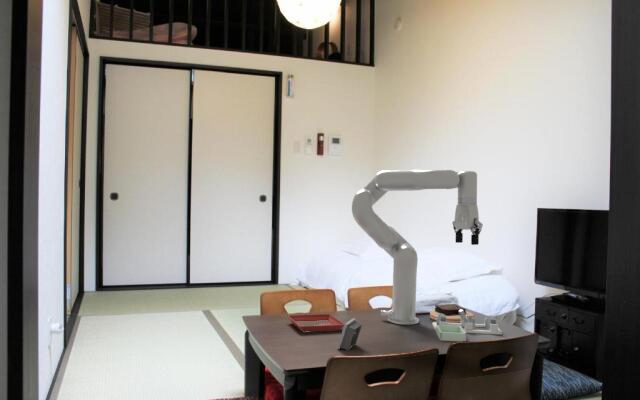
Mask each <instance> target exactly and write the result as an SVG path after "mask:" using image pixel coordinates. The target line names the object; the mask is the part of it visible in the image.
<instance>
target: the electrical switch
mask: <svg viewBox="0 0 640 400" xmlns="http://www.w3.org/2000/svg"><path fill="white" fill-rule="evenodd" d="M356 320H357V319H356V318H352V319H350V320H348V321H347V322H346V323H344V324H345V325H344V326H343V327H342V332H341V335H340V338H339V341H338V345H337V347H336V348H337V350H339V349H340V348H341V349H344V350H346V351H350V349H349V348H350V347H351V346H353V347H354V345H355V346H356V345H357V341H358V338H359V335H360V332H361V329H362V326H363V324H362V323H359V322H357V321H356ZM341 349H340V350H341Z"/></svg>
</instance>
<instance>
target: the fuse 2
mask: <svg viewBox="0 0 640 400" xmlns="http://www.w3.org/2000/svg"><path fill="white" fill-rule="evenodd" d="M486 318H487V327H486V330H488V331H490V324H497V319H496V318H495V317H494V316H493V315H486Z"/></svg>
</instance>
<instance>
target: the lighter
mask: <svg viewBox="0 0 640 400" xmlns="http://www.w3.org/2000/svg"><path fill="white" fill-rule="evenodd" d="M458 314H459V317H460V321H461V320H464V327H463V329H465V323H473V329H472V330H476V329H475V328H476V327H475V324H476V318H475V317H473V315H466V313H465V309H462V308H460V309H459V310H458ZM466 317H467V318H466Z"/></svg>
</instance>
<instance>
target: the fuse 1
mask: <svg viewBox="0 0 640 400" xmlns="http://www.w3.org/2000/svg"><path fill="white" fill-rule="evenodd" d="M437 316H438V325H440V321H443V322H447V317H446V315H445V313H438V315H437Z"/></svg>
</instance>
